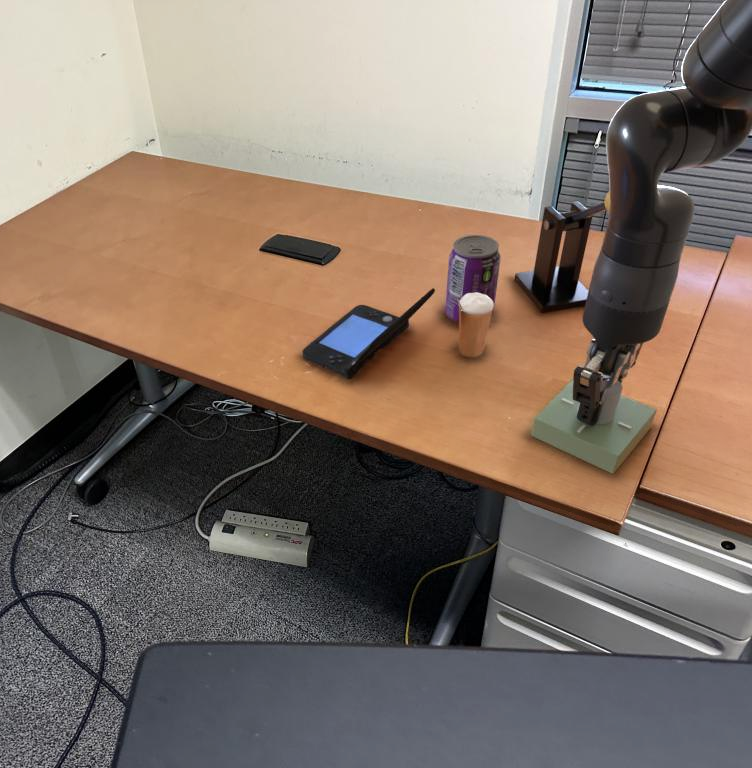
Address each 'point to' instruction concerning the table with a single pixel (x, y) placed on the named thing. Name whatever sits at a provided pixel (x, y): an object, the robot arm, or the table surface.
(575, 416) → the green dial knob panel
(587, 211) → the latch lever
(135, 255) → the table surface
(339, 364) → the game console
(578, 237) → the latch bracket
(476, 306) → the milkshake
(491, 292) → the beverage can
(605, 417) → the lock knob
